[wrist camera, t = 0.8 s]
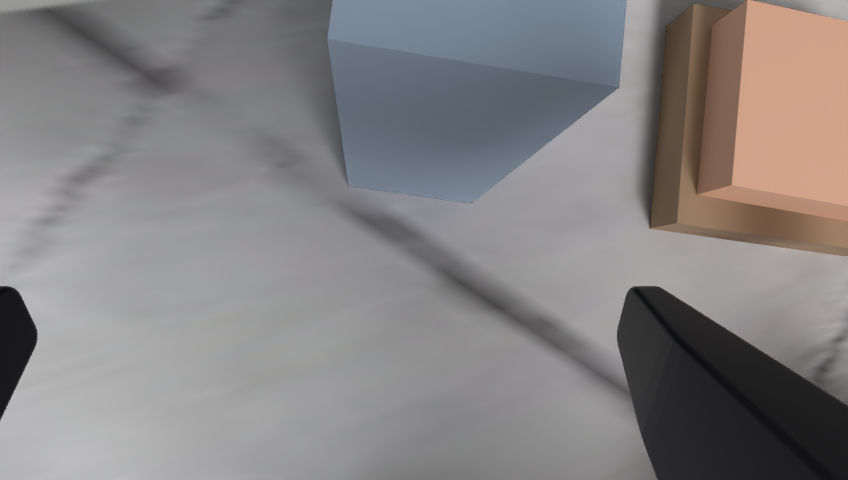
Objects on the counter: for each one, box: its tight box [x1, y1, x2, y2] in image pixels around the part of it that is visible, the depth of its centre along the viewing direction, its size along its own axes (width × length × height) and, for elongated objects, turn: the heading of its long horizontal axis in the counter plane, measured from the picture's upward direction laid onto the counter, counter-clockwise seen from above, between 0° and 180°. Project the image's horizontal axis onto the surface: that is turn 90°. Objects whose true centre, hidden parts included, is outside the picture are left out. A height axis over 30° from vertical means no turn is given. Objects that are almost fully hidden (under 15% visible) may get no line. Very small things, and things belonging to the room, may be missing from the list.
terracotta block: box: [697, 0, 848, 221], centre depth 21 cm, size 7×7×2 cm
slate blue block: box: [327, 0, 627, 203], centre depth 16 cm, size 5×5×13 cm
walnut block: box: [650, 3, 848, 256], centre depth 23 cm, size 9×9×2 cm
